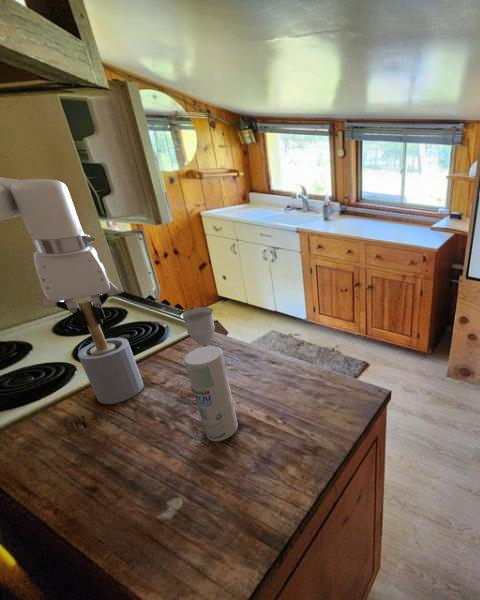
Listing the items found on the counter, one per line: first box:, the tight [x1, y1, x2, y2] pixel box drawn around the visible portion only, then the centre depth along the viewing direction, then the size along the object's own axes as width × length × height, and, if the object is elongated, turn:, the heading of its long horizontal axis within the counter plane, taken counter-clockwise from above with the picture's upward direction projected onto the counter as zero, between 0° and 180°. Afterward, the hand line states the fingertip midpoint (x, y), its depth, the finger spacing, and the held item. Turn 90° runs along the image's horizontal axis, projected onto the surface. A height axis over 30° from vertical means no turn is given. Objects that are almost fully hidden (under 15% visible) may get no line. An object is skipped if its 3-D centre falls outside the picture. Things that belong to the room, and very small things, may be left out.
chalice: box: [180, 306, 216, 347], centre depth 87 cm, size 7×7×18 cm
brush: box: [77, 299, 116, 356], centre depth 74 cm, size 4×4×17 cm
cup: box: [77, 337, 144, 405], centre depth 79 cm, size 9×9×13 cm
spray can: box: [183, 345, 239, 442], centre depth 68 cm, size 6×6×20 cm
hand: (92, 323), depth 73 cm, fingers closed on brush, 2 cm apart
